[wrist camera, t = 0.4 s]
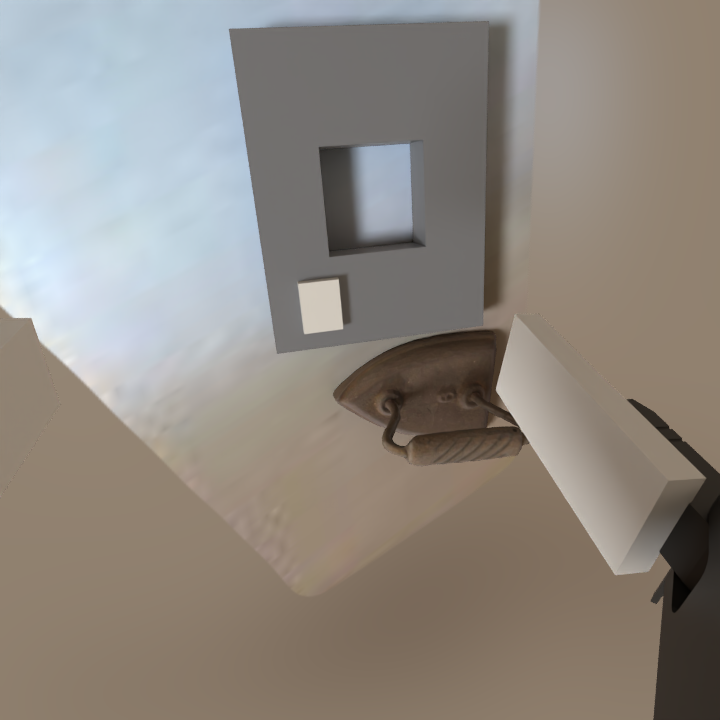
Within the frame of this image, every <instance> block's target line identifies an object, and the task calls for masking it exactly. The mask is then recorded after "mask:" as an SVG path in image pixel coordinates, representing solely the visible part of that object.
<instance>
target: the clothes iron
mask: <svg viewBox="0 0 720 720" xmlns="http://www.w3.org/2000/svg"><path fill="white" fill-rule="evenodd" d="M495 356H496V335H495V333H493V332H489V331H488V332H466V333H454V334H447V335H439V336H433V337H430V338H426V339H421V340H416V341H413V342H410V343H407V344H404V345H401V346H398V347H395V348H393V349H391V350H389V351H387V352H384V353H382V354H381V355H379V356H377V357H376V358H374V359H372V360H371V361H369V362H368V363H366V364H365V365H363V366H362V367H360V368H359V369H358V370H356V371H355V372H354V373H353V374H351V375H350V376H349V377H348V378H347V379H346V380H345V381H343V382H342V383H341V384H340V385H339V386H338V387H337V389H336V390H335V391H334V393H333V396H334V398H335V400H336V401H337V403H338V404H340V405H341V406H343V407H344V408H346V409H347V410H349V411H351V412H353V413H355V414H357V415H358V416H359V417H361V418H363V419H366V420H367V421H369V422H371V423H374V424H376V425H378V426H381V427H384V428H386V429H385V431H384V433H383V437H382V444H383V446H384V448H385V449H386V450H387V451H389V452H390V453H393V454H395V455H398V456H401V457H404V458H405V459H406V460H407V461H408V462H409V464H413V465H416V466H427V465H434V464H447V463H462V462H466V461H480V460H487V459H494V458H502V457H507V456H516V455H518V453H519V452H520V450H521V448H522V446H523V445H525V444H529V443H530V442H529V441H528V439H527V438H526V436H525V435H524V433H523V432H521V430H520V429H519V428H520V427H519V425H518V424H517V422H516V421H515V419H514V418H513V416H512V415H511V413H510V412H507V411H505V410H503V409H501V408H499V407H497V406H495V405H493V404H491V403H490V395H491V387H492V379H493V372H494V363H495ZM488 412H490V413H493V414H494V415H495V416H497V417H501V418H503V419H504V420H506V421H508V422H510V423H512V424H514V425H516V426H518V427H519V428H517V427H492V428H486V427H487V420H488ZM395 432H398V433H403V434H408V435H414V436H415V437H414V438H412V440H411V441H410V442H409V443H408V445H406V446H399V445H397V444H395V443H394V442H393V440H392V438H393V435H394V433H395Z"/></svg>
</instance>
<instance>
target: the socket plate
mask: <svg viewBox="0 0 720 720" xmlns="http://www.w3.org/2000/svg"><path fill="white" fill-rule="evenodd" d="M229 32H230V39H231V46H232V53H233V59H234V66H235V73H236V80H237V86H238V93H239V100H240V107H241V113H242V120H243V127H244V134H245V140H246V147H247V154H248V161H249V167H250V174H251V181H252V188H253V194H254V201H255V208H256V215H257V221H258V228H259V235H260V242H261V248H262V255H263V262H264V269H265V275H266V282H267V289H268V296H269V302H270V309H271V316H272V323H273V329H274V336H275V343H276V350H277V354H279V353H286V352H294V351H301V350H308V349H316V348H323V347H330V346H338V345H345V344H352V343H359V342H367V341H374V340H381V339H389V338H396V337H403V336H411V335H418V334H425V333H433V332H440V331H447V330H455V329H462V328H469V327H476V326H483V306H484V254H485V201H486V149H487V96H488V44H489V21H481V22H447V23H413V24H379V25H346V26H312V27H278V28H244V29H229ZM408 143H410V158H411V187H412V216H413V242H411V243H402V244H392V245H383V246H373V247H363V248H354V249H344V250H335V251H329V248H328V238H327V228H326V218H325V207H324V197H323V187H322V177H321V166H320V156H319V150H323V149H337V148H351V147H365V146H380V145H394V144H408Z"/></svg>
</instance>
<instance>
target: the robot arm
mask: <svg viewBox="0 0 720 720" xmlns="http://www.w3.org/2000/svg"><path fill="white" fill-rule="evenodd" d="M496 391H497V393H498V394H499V396H500V397H501V399H502V401H503V402H504V404H505V405H506V407H507V408H508V410H509V411H510V413H511V415H512V416H513V418H514V419H515V421H516V422H517V424H518V425H519V427H520V428H521V430H522V432H523V433H524V435H525V436H526V438H527V439H528V441H529V442H530V444H531V445H532V447H533V449H534V450H535V451H536V453H537V455H538V456H539V458H540V459H541V461H542V462H543V464H544V465H545V467H546V469H547V470H548V472H549V473H550V475H551V476H552V478H553V479H554V481H555V482H556V484H557V486H558V487H559V489H560V490H561V492H562V493H563V495H564V497H565V498H566V500H567V501H568V503H569V504H570V506H571V507H572V509H573V510H574V512H575V514H576V515H577V517H578V518H579V520H580V521H581V523H582V524H583V526H584V527H585V529H586V531H587V532H588V534H589V535H590V537H591V538H592V540H593V541H594V543H595V544H596V546H597V548H598V549H599V551H600V552H601V554H602V555H603V557H604V558H605V560H606V561H607V563H608V565H609V566H610V568H611V569H612V571H613V572H614V574H615V575H620V574H631V573H640V572H648V571H649V570H650V568H651V567H652V565H653V563H654V562H655V560H656V558H657V557H658V555H659V554H660V553H661V554H662V556H663V557H664V558H665V560H666V561H667V562H668V564H669V565H670V566H671V569H670V570H669V572H668V573H667V575H666V576H665V578H664V579H663V581H662V582H661V584H660V585H659V587H658V589H657V590H656V592H655V593H654V595H653V597H652V599H651V602H653V603H656V604H657V603H658V601H659V600H660V598H661V597H662V596H664V598H663V610H662V621H661V634H660V646H659V658H658V670H657V671H658V672H657V683H656V696H655V707H654V719H653V720H720V474H719V473H718V472H717V471H716V470H715V469H714V468H713V467H712V466H711V465H710V464H709V463H708V462H706V461H705V460H704V459H703V458H702V457H701V456H700V455H699V454H698V453H697V452H696V451H695V450H694V449H693V448H692V447H690V445H688V444H687V443H686V442H683V441H682V438H681V437H680V436H679V435H678V434H677V433H676V432H675V431H674V430H673V429H669V426H668V425H667V424H666V423H665V422H664V421H663V420H662V419H661V418H660V417H659V416H658V415H657V414H656V413H655V412H653V411H652V410H650V409H648V408H647V407H645V406H643V405H642V404H640V403H638V402H637V401H635V400H633V399H625V398H624V397H623V396H622V395H621V394H620V393H619V392H618V391H617V390H616V389H615V388H614V387H613V386H612V385H611V384H610V383H609V382H608V381H607V380H606V379H605V378H604V377H603V376H602V375H601V374H600V373H599V372H598V371H597V370H596V369H595V368H594V367H593V366H592V365H591V364H590V363H589V362H588V361H587V360H586V359H585V358H583V356H582V355H581V354H580V353H579V352H578V351H577V350H576V349H575V348H574V347H573V346H571V344H570V343H568V342H567V341H566V340H565V339H564V338H563V337H562V336H561V335H560V334H559V333H558V332H557V331H556V330H555V329H554V328H553V327H552V326H551V325H550V324H549V323H548V322H547V321H546V320H545V319H544V318H543V317H542V316H541V315H540V314H515V316H514V320H513V324H512V328H511V332H510V336H509V340H508V344H507V347H506V351H505V355H504V359H503V363H502V367H501V371H500V375H499V379H498V382H497V386H496ZM60 405H61V403H60V400H59V397H58V394H57V392H56V389H55V386H54V383H53V380H52V377H51V374H50V371H49V368H48V366H47V363H46V360H45V357H44V354H43V351H42V348H41V345H40V342H39V339H38V336H37V334H36V331H35V328H34V325H33V322H32V319H31V318H0V497H1V496H2V494H3V493H4V491H5V490H6V488H7V487H8V485H9V483H10V482H11V480H12V479H13V477H14V476H15V474H16V473H17V471H18V470H19V468H20V467H21V465H22V464H23V462H24V460H25V459H26V457H27V456H28V454H29V453H30V451H31V450H32V448H33V447H34V445H35V444H36V442H37V441H38V439H39V437H40V436H41V434H42V433H43V431H44V430H45V428H46V427H47V425H48V424H49V422H50V421H51V419H52V417H53V416H54V414H55V413H56V411H57V410H58V408H59V407H60Z"/></svg>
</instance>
